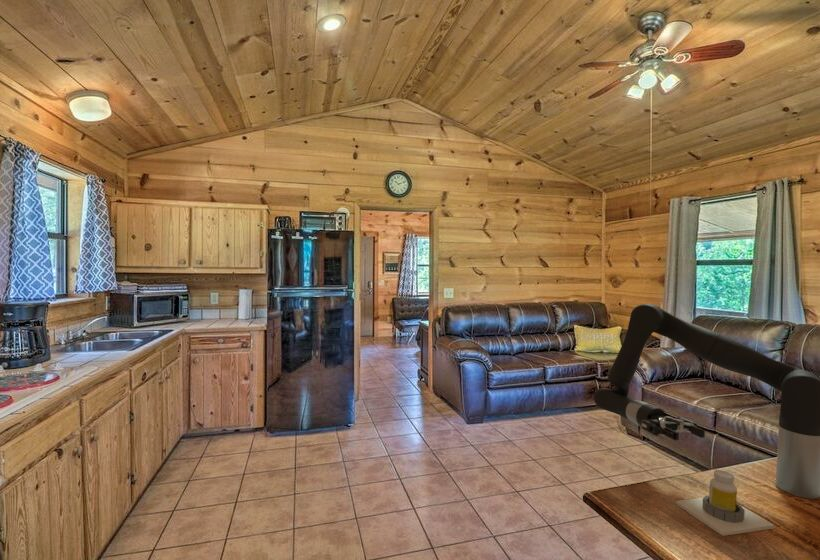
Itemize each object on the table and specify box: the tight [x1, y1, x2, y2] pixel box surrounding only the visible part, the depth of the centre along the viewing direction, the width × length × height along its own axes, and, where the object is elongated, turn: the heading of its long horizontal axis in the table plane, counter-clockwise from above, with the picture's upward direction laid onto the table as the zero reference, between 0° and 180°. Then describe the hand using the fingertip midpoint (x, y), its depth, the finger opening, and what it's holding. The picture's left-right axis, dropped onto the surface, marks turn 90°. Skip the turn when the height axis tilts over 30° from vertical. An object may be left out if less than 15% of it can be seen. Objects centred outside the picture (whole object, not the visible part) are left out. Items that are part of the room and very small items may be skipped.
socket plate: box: [675, 495, 775, 537], centre depth 104 cm, size 15×13×3 cm
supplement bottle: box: [708, 469, 738, 513], centre depth 104 cm, size 5×5×10 cm
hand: (690, 435), depth 115 cm, fingers open, 8 cm apart
